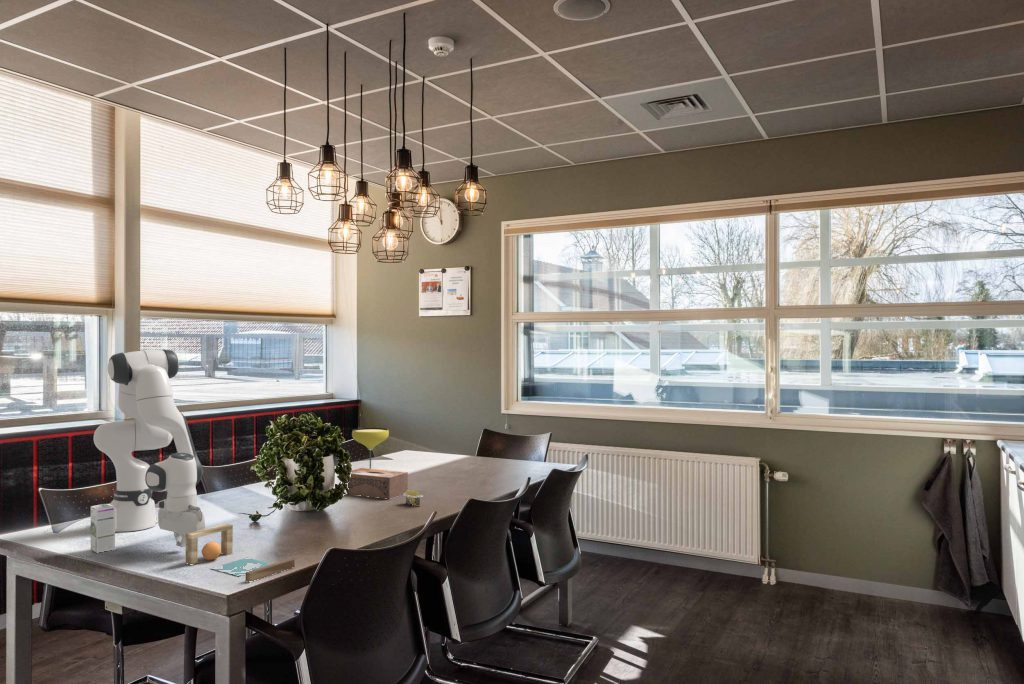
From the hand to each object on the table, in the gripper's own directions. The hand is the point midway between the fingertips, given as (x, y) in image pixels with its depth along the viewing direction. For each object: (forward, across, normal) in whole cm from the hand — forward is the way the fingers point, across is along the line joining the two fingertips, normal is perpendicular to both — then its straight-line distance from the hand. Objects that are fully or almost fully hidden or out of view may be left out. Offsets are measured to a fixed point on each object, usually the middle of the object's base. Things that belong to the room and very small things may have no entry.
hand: (181, 546), depth 229 cm
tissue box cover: (+2, +8, -101) cm, 101 cm away
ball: (-1, -16, 0) cm, 16 cm away
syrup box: (+2, +22, +13) cm, 26 cm away
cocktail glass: (+2, +34, -125) cm, 129 cm away
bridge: (+2, -14, 0) cm, 15 cm away
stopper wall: (+2, -43, 0) cm, 43 cm away
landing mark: (+2, -30, 0) cm, 31 cm away
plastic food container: (+2, -20, -92) cm, 94 cm away
